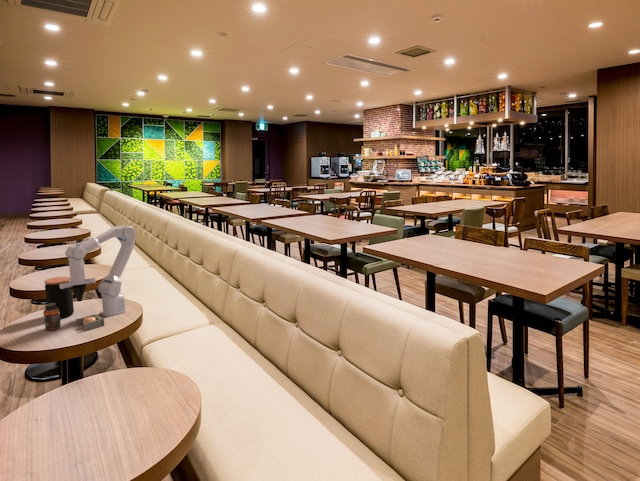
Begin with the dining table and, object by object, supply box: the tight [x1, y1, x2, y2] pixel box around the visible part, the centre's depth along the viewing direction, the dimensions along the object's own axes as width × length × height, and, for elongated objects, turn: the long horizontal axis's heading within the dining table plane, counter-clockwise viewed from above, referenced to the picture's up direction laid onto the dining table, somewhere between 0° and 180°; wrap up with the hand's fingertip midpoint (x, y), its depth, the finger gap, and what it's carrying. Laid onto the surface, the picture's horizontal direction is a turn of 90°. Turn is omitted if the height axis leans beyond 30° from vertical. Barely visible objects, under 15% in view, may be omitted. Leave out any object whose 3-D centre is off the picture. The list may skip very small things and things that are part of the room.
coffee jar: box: [43, 276, 75, 320], centre depth 201 cm, size 11×11×18 cm
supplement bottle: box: [42, 303, 62, 332], centre depth 185 cm, size 6×6×11 cm
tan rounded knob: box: [82, 316, 96, 326], centre depth 189 cm, size 5×5×4 cm
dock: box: [76, 314, 105, 331], centre depth 190 cm, size 8×9×3 cm
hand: (79, 300), depth 192 cm, fingers closed
